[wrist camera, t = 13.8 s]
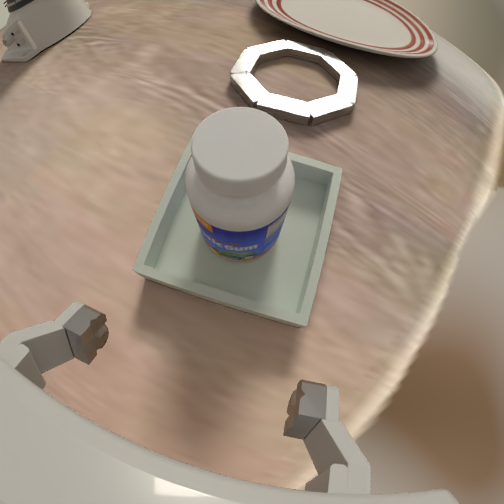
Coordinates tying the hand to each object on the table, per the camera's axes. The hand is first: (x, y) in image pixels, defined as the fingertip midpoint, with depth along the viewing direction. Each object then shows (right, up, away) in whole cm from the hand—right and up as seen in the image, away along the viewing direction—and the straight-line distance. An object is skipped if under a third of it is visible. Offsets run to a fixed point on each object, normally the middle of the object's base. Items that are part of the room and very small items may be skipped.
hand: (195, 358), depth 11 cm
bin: (+2, +6, +10) cm, 12 cm away
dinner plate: (+16, +38, +21) cm, 47 cm away
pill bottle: (+1, +6, +10) cm, 12 cm away
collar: (+7, +21, +15) cm, 27 cm away
